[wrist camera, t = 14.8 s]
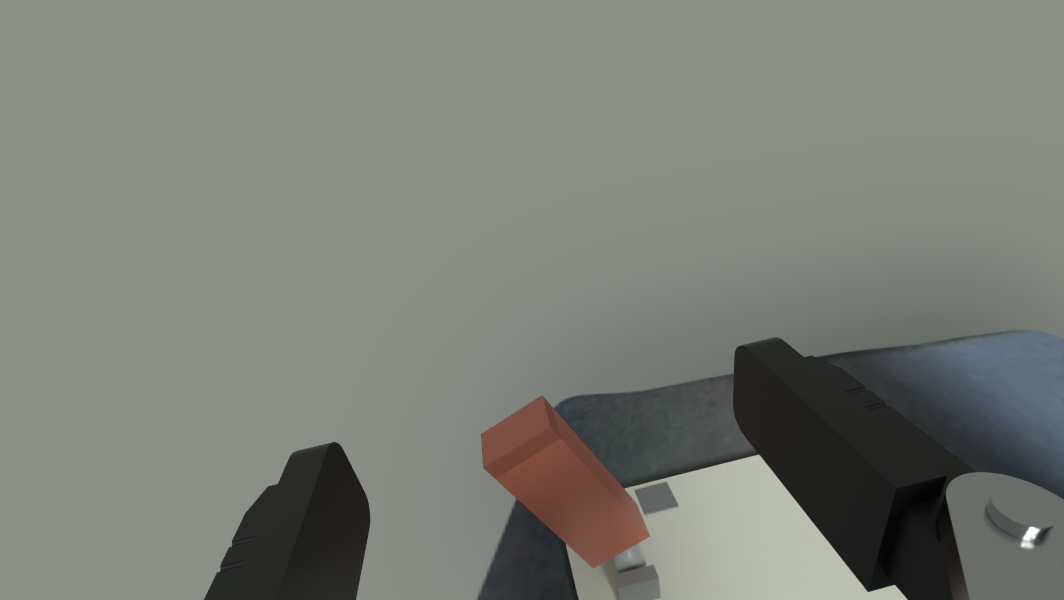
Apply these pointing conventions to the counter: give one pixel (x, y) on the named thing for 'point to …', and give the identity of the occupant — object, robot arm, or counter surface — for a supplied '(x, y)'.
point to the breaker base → (725, 544)
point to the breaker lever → (565, 486)
